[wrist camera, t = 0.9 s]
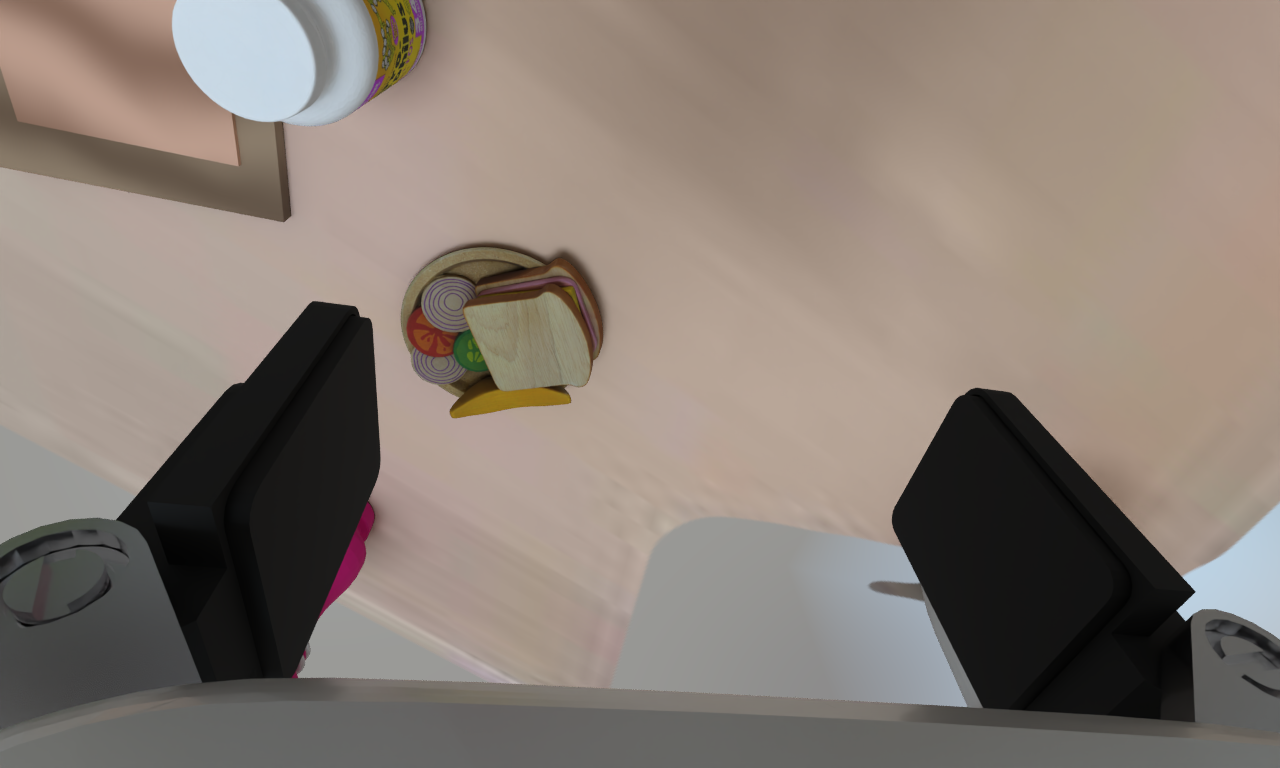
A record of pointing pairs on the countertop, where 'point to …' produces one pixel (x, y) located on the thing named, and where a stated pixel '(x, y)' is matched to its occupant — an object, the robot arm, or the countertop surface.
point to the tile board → (127, 109)
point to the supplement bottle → (297, 54)
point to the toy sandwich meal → (501, 329)
